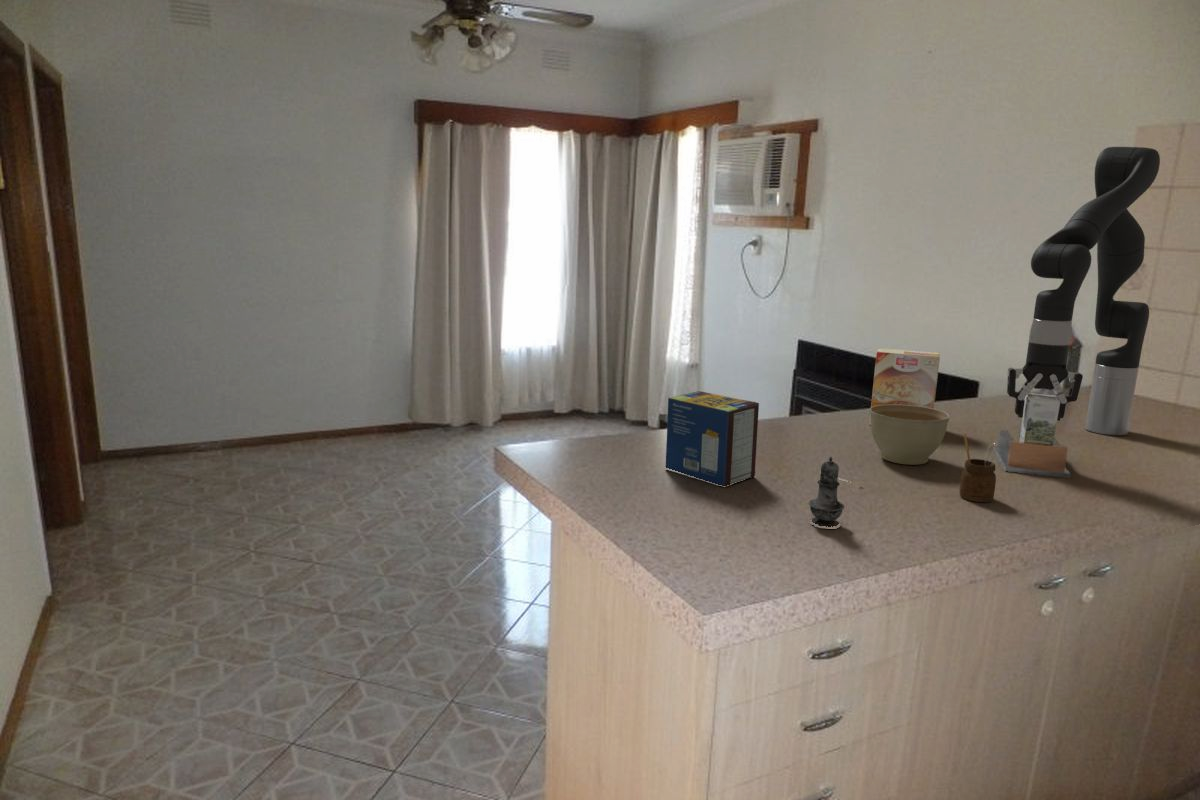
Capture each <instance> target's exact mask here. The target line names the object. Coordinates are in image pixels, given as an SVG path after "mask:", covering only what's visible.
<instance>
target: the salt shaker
mask: <svg viewBox="0 0 1200 800" xmlns="http://www.w3.org/2000/svg"><path fill="white" fill-rule="evenodd" d="M839 469H840V467H839V465H838V463H836V462H834V461H833V457H832V456H830V457H829V458H828V460H827V461H825V462H823V463H822V464H821V466H820V472H821V474H819V480H817V484H818V493H817V496H816V498H813V499H811V500H809V501H808V504H809V506H810V512H811V514H812V515H813V516H814V517H812V518H811V519H812V522H813V523H815V524H818V525H819V526H826V527H827V526H828V527H831V526H832V527H833V526H837V525H838V524H839V523H840V522H839V521H838V520H837V519H838V518H840V517H841V515H842V513H843V510H844V509H845V504H844V503H842V502H841V501H838V487H839V486H840V482H838V478H839Z"/></svg>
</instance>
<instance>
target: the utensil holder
mask: <svg viewBox="0 0 1200 800" xmlns="http://www.w3.org/2000/svg"><path fill="white" fill-rule="evenodd" d="M963 437H964V445H965V446H964V447H965V452H966V455H967V459H966V460H965V462H964V469H963V470H962V472H961V477H960V484H959V496H960V497H961V498H962V497H963V498H962V499H964V498H965V499H964V500H966V499H968V500H967V501H969V500H971V501H970V502H973V501H976V502H975V503H981V502H985V503H990V502H992V501H993V500H994V497H995V491H996V485H997V484H996V483H997V475H996V473H995V471H996V464H995V463H996V462H997V460H999V459H998V457H999V456H998V457H997V455H996V454H995V455H996V456H995V457H996V458H997V459H996V460H993V461H990V460H991V458H992V456H993V453H994V452H995V451H994V448H995V446H997V447H999V446H998V444H997V443H994V445H995V446H994V445H993V443H990V444H988V445H987V447H988V448H987V450H985V451H984V455H983V456H984V459H980V458H971V457H970V448H969V441H968V436H967V433H965V434H964V435H963ZM992 446H993V449H992V453H991V455H990V457H989V460H987V456H988V453H989V450H990V448H991V447H992ZM999 448H1000V447H999ZM986 451H987V452H986ZM998 451H999V450H998ZM985 454H986V455H985ZM997 454H998V452H997ZM999 454H1000V453H999Z"/></svg>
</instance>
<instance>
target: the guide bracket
mask: <svg viewBox="0 0 1200 800" xmlns="http://www.w3.org/2000/svg"><path fill="white" fill-rule="evenodd" d="M998 438H999V439H998V444H997V445H995V444H993V449H994V451H993V452H994V454H995V455H997V456H996V458H998V459H997V460H999V463H1000V462H1001V463H1000V464H1002V465H1001V466H1002V469H1003V470H1004V472H1006V471H1008V472H1007V473H1015V472H1017V473H1016V474H1025V473H1026V474H1027V475H1034V474H1037V475H1036V476H1043V475H1045V477H1056V478H1062V477H1063V479H1070V478H1071V473H1070V471H1069V470H1068V469H1067V468H1066V464H1067V463H1066V462H1067V457H1068V456H1067V455H1068V450H1069V447H1068V446H1067V445H1061V443H1060V442H1059V441H1058V440H1057V439H1056V437H1054V443H1053V445H1051V444H1041V443H1030V442H1020V441H1019V440H1018V441H1016V440H1015V439H1014V438H1013V436H1012V435H1011V433H1010V432H1009V431H1008V430H1006V429H1000V431H999V437H998ZM994 446H995V448H994ZM997 446H999V447H1000V448H999V447H997ZM998 450H999V451H998ZM997 452H998V454H997ZM999 453H1000V454H999ZM998 456H999V457H998Z"/></svg>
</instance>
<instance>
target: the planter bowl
mask: <svg viewBox="0 0 1200 800" xmlns="http://www.w3.org/2000/svg"><path fill="white" fill-rule="evenodd" d="M869 414H870V415H871V419H870V418H869V422H870V423H871V426H870V430H871V434H872V438H873V440H874V442H875V444H876V446H877V447H878V449H879V451H880V456H881V458H882V459H883V460H885V461H888V462H891V463H894V464H897V463H898V464H900V465H910V466H912V465H913V466H914V465H915V466H917V465H924V464H926V463H928V460H929V458H930V457H931V455H932V454H934V452H936V450H937V449H938V448H939V446H940V445H941V443H942V441H943V440H944V438H945V435H946V432H947V427H948V422H949V420H950V415H949V414H948V413H947V412H945V411H942V410H939V409H935V408H934V409H932V408H927V407H920V406H911V405H877V406H873V407H871V406H870V409H869ZM870 415H869V416H870Z"/></svg>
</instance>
